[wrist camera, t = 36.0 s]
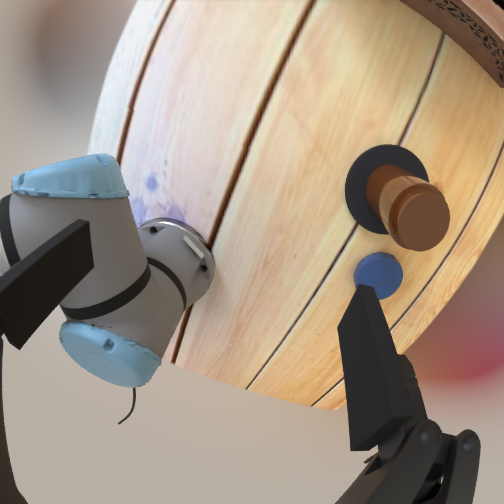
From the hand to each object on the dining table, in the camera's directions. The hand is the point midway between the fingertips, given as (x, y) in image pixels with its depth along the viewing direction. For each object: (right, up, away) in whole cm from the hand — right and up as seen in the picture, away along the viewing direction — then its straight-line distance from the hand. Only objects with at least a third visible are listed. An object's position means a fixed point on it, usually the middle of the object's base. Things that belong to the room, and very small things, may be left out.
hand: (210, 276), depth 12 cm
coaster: (+21, +10, +22) cm, 32 cm away
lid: (+21, -3, +27) cm, 35 cm away
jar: (+21, +9, +21) cm, 31 cm away
